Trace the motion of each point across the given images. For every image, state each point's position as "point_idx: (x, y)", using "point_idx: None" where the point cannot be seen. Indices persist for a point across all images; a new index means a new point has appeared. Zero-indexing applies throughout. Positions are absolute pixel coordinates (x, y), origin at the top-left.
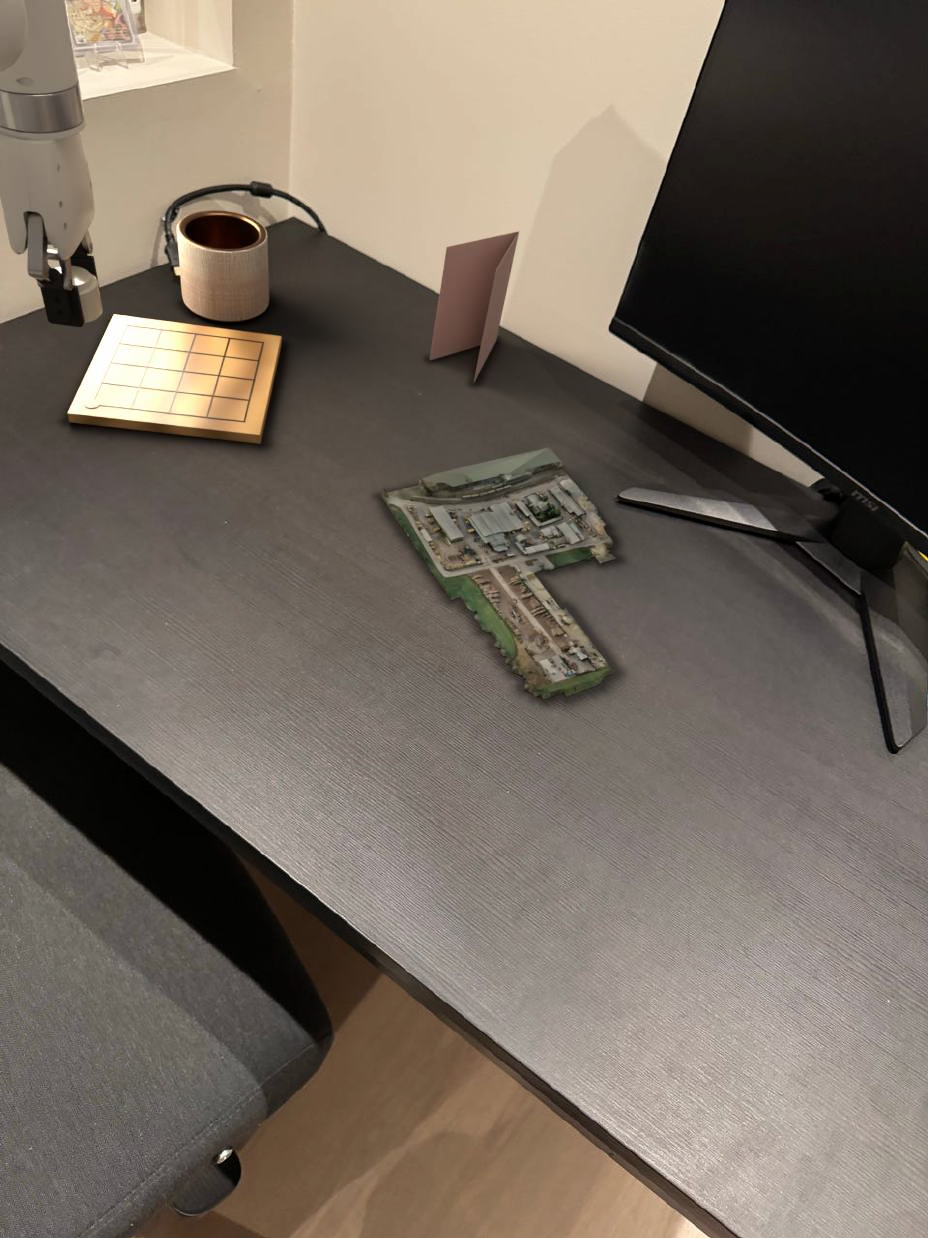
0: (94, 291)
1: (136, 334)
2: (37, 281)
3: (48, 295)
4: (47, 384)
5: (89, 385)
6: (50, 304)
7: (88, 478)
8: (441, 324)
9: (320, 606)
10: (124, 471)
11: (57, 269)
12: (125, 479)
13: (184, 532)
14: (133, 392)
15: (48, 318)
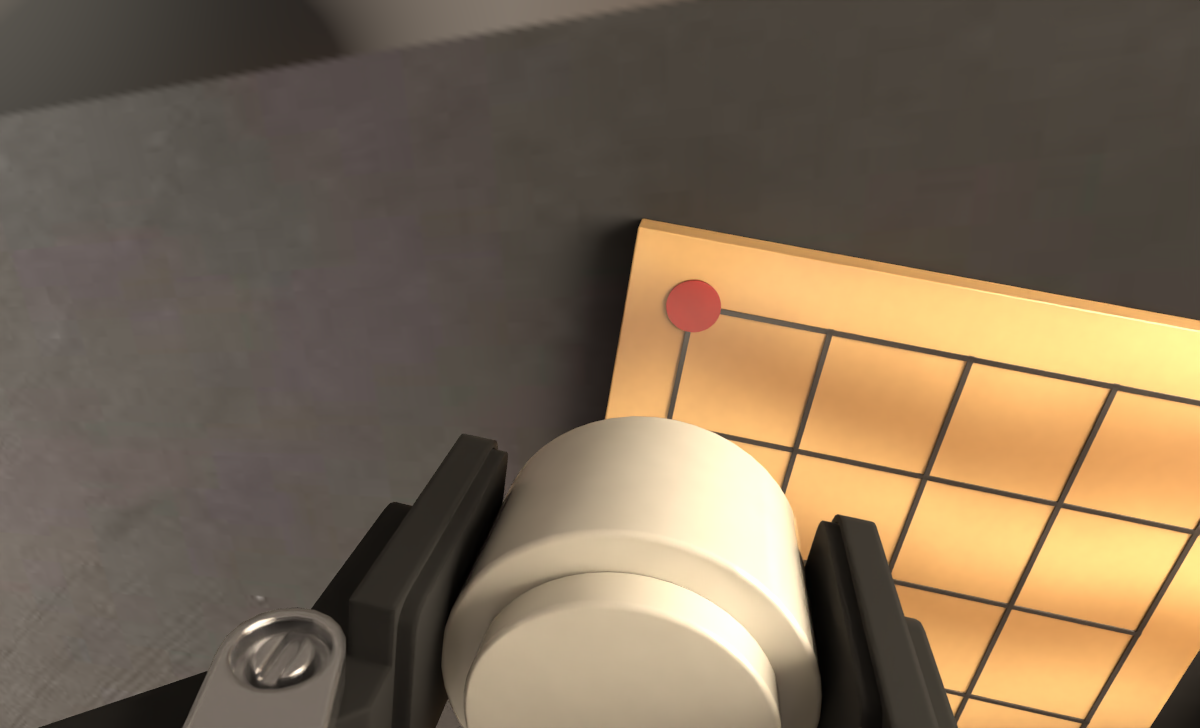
0: None
1: (1173, 447)
2: (222, 649)
3: (317, 604)
4: (891, 115)
5: (813, 292)
6: (354, 556)
7: (368, 292)
8: None
9: (68, 717)
10: (411, 386)
11: (703, 670)
12: (377, 389)
13: (208, 514)
14: (764, 432)
15: (459, 444)
